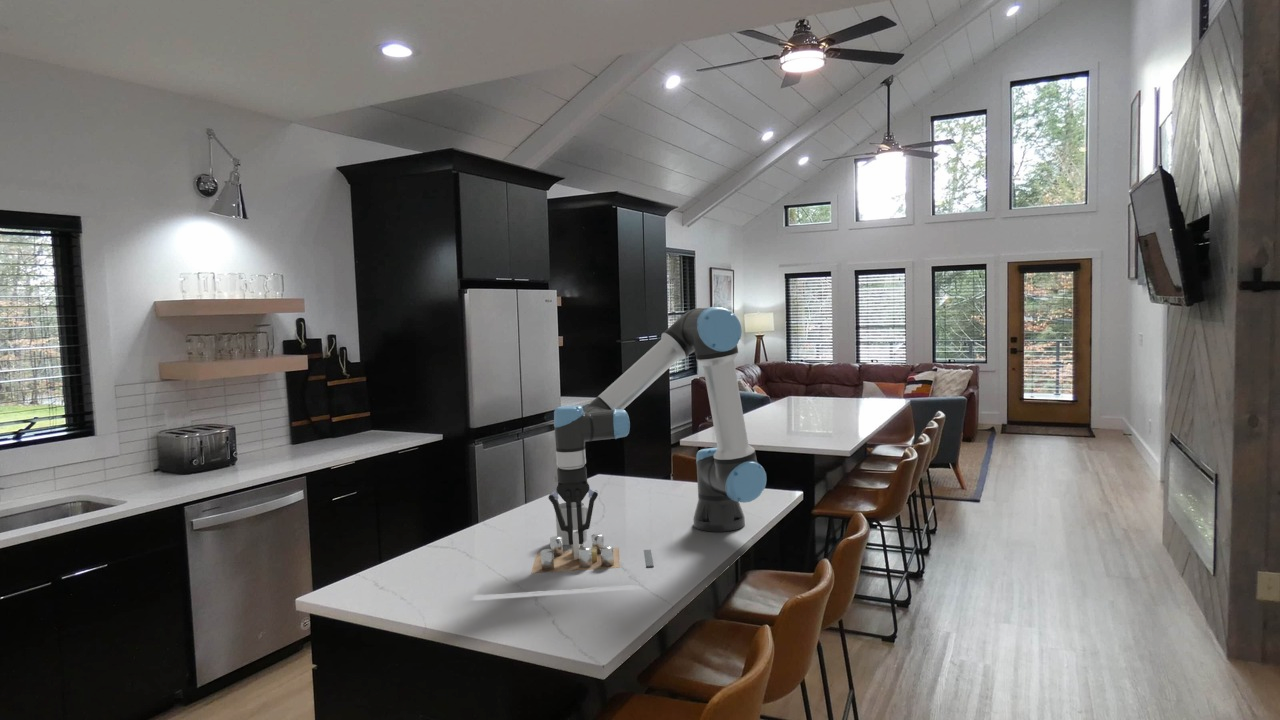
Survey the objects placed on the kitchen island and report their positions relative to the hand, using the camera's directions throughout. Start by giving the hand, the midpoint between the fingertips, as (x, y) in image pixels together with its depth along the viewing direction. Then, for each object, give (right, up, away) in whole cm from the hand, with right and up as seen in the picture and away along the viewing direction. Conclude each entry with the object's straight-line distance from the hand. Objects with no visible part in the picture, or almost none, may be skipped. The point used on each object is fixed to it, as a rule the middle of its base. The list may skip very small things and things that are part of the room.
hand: (577, 556), depth 195 cm
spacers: (0, -1, 0) cm, 1 cm away
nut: (+3, -1, 0) cm, 3 cm away
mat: (+15, -1, +1) cm, 16 cm away
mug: (-2, -1, +19) cm, 19 cm away
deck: (0, -2, 0) cm, 2 cm away
